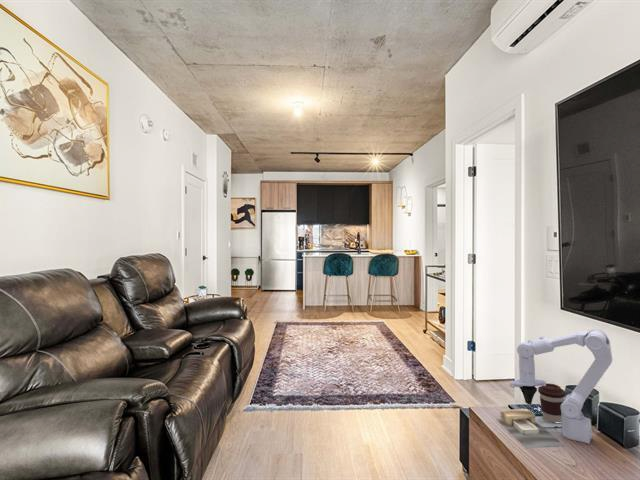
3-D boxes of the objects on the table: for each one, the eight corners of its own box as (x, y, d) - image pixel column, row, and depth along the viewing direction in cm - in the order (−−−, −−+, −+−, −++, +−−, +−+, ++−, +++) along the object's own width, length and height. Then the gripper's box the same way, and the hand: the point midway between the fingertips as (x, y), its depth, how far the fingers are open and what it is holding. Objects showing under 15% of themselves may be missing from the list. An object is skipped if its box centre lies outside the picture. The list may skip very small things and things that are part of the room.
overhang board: (566, 448, 138) (565, 434, 138) (526, 450, 138) (525, 436, 138) (529, 419, 161) (529, 407, 161) (495, 420, 161) (495, 409, 161)
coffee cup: (534, 419, 161) (533, 385, 161) (548, 413, 165) (546, 380, 165) (558, 429, 152) (556, 392, 152) (571, 422, 157) (570, 387, 157)
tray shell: (539, 434, 147) (539, 429, 147) (523, 435, 147) (523, 430, 147) (522, 419, 159) (522, 415, 159) (507, 420, 159) (507, 416, 159)
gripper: (537, 367, 160) (539, 398, 160) (505, 368, 159) (506, 400, 159) (548, 372, 153) (549, 405, 153) (514, 374, 152) (515, 407, 152)
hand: (528, 403), depth 156 cm, fingers closed
